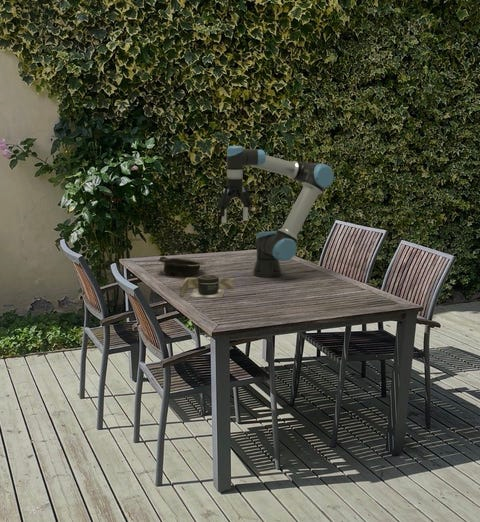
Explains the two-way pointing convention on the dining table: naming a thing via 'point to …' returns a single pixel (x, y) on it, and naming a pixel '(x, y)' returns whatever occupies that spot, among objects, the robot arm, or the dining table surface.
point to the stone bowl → (180, 266)
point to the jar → (208, 284)
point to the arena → (193, 283)
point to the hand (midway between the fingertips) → (234, 221)
